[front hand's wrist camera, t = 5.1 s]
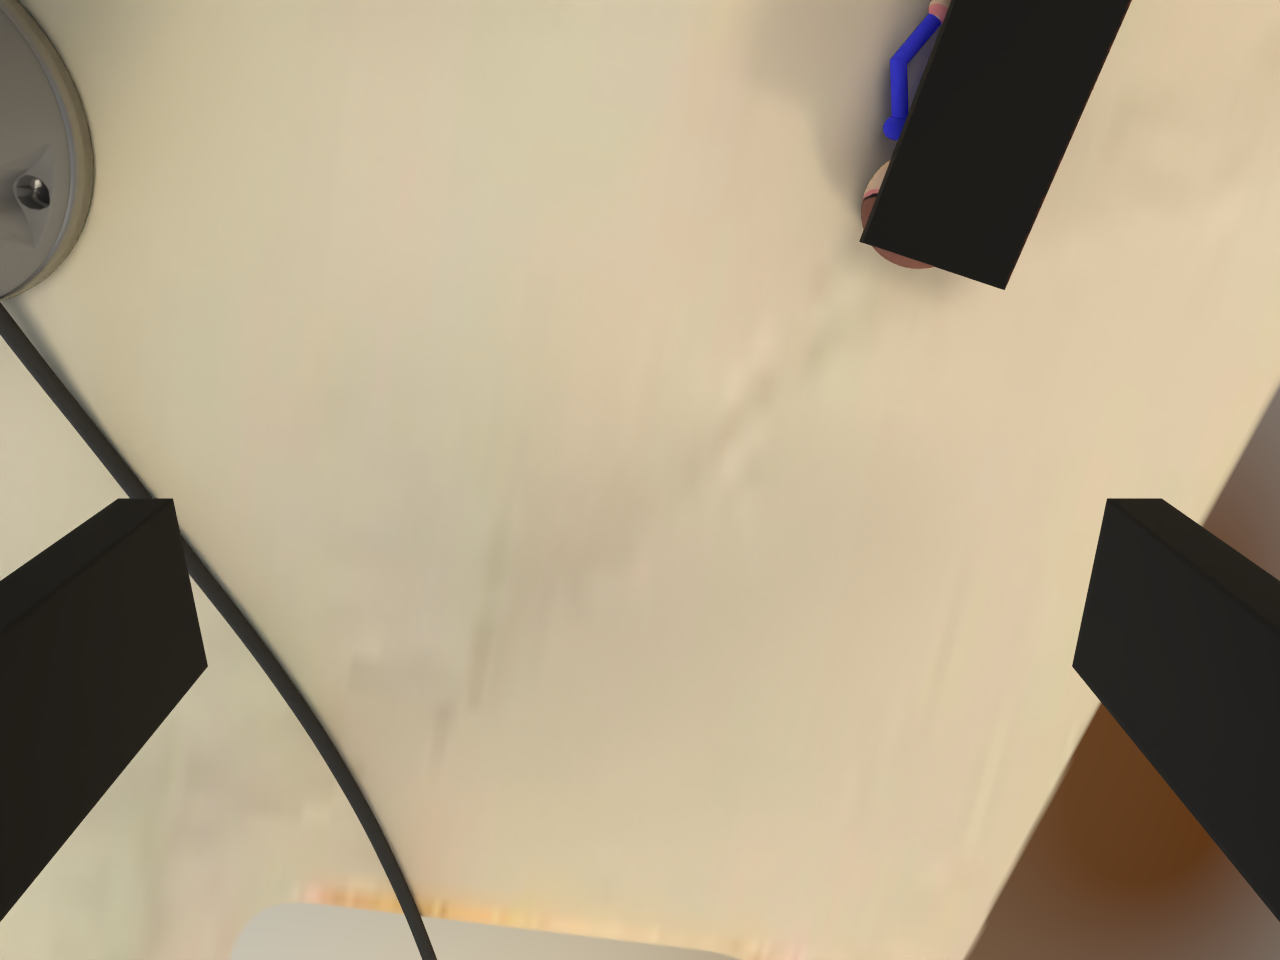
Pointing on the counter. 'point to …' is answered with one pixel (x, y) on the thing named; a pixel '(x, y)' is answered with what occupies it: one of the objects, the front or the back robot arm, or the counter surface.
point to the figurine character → (983, 129)
